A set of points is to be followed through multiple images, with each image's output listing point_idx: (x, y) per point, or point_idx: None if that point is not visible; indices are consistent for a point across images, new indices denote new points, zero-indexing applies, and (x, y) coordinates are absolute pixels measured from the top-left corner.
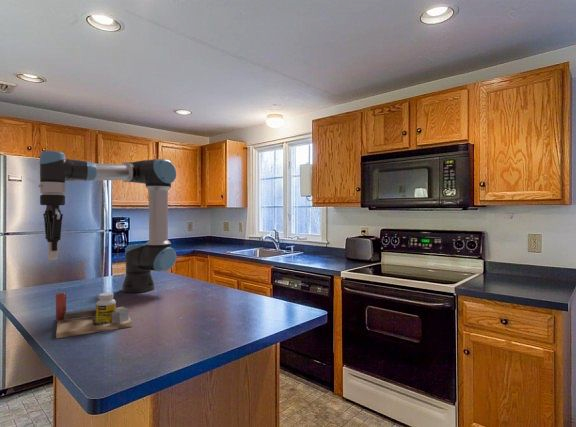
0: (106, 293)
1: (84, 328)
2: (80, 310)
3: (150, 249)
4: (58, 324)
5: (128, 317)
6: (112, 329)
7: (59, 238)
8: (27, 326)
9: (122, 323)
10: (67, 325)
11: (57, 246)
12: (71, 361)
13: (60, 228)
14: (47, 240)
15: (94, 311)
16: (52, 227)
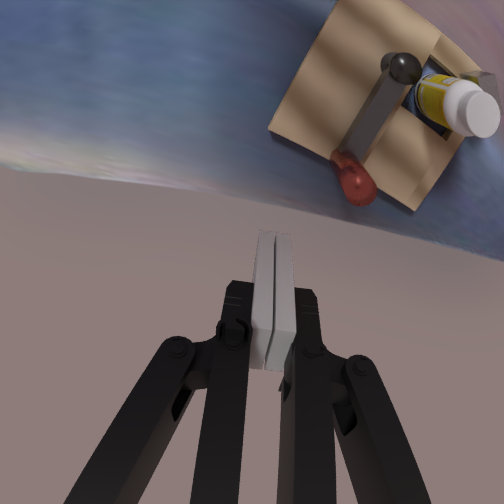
0: (479, 108)
1: (443, 163)
2: (365, 116)
3: None
4: None
5: (479, 71)
6: None
7: (372, 372)
8: (262, 198)
9: None
10: (389, 168)
11: (294, 301)
12: (500, 245)
13: (411, 459)
14: (280, 390)
15: (399, 94)
16: (360, 488)
